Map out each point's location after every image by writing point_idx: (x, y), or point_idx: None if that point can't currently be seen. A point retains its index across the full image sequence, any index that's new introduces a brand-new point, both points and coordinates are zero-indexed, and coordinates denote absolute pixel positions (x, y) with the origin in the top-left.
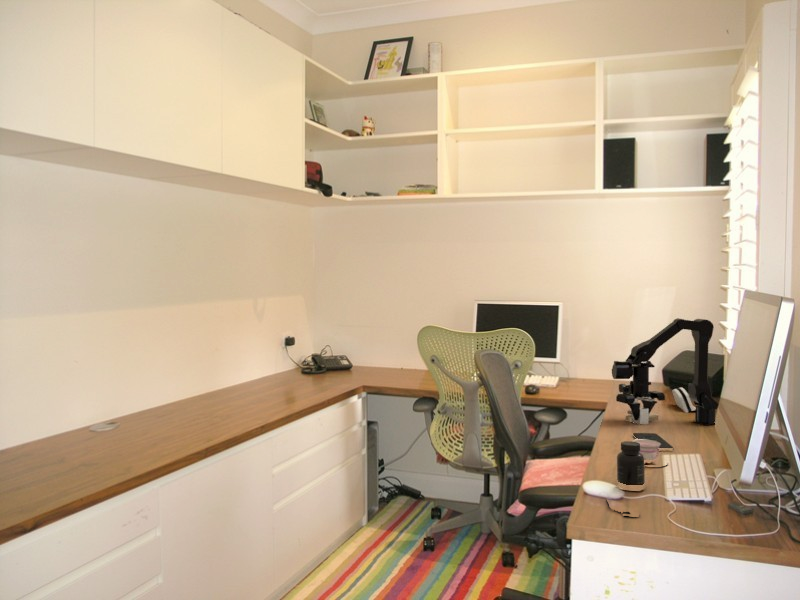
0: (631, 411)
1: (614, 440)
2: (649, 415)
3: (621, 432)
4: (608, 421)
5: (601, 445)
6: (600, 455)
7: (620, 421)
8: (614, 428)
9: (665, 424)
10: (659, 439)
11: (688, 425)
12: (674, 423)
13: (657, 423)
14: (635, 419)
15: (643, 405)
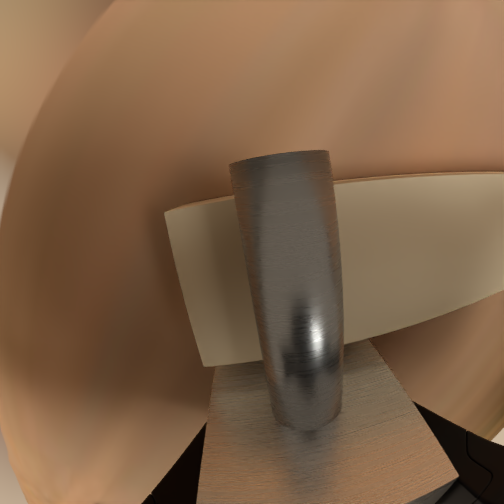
0: (275, 306)
1: (43, 488)
2: (502, 283)
3: (61, 468)
4: (8, 202)
5: (21, 484)
6: (30, 501)
7: (107, 225)
8: (29, 414)
9: (447, 402)
10: None
11: (498, 407)
12: (500, 370)
13: (434, 377)
14: None
15: (474, 499)
